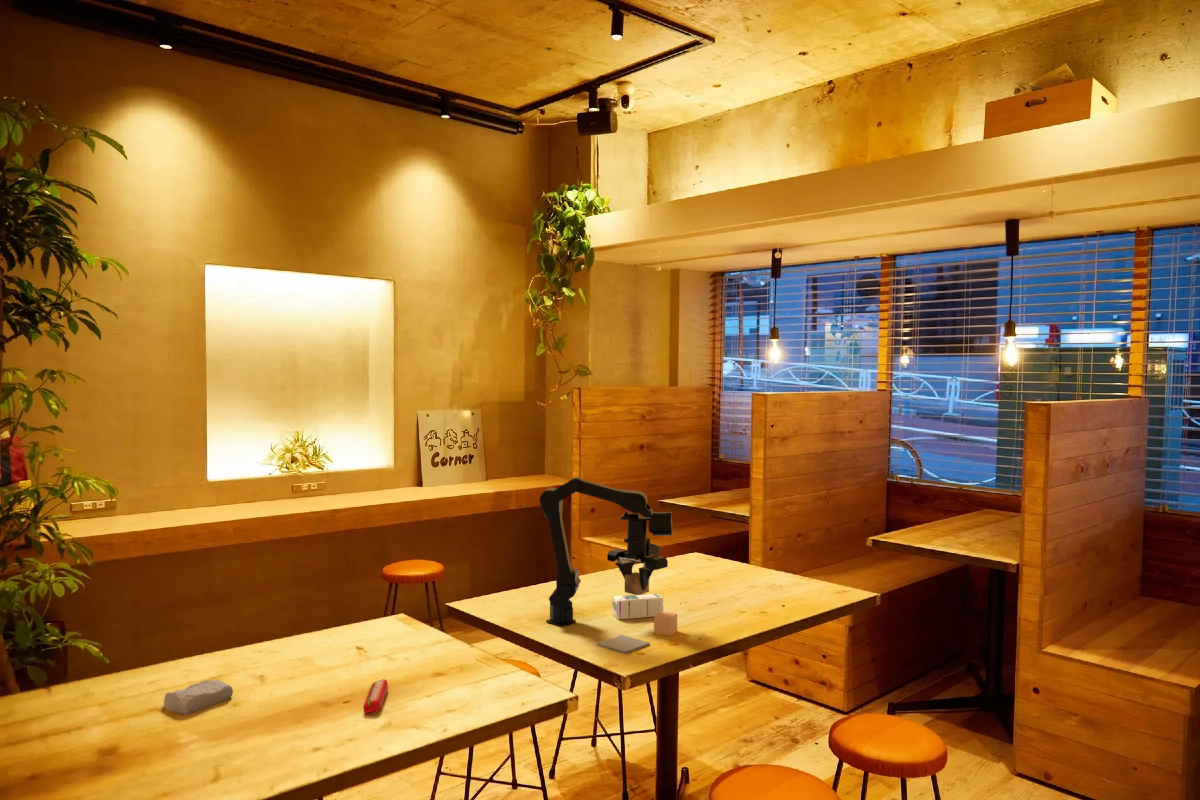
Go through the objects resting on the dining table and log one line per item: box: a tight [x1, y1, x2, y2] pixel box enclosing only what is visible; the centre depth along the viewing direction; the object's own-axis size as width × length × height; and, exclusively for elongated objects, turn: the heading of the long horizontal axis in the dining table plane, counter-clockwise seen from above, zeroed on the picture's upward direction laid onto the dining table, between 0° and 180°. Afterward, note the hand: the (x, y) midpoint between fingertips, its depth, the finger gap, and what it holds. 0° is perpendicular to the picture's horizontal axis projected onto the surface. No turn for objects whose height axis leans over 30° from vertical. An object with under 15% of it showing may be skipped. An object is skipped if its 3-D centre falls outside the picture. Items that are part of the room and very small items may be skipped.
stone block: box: [163, 679, 234, 716], centre depth 180 cm, size 12×5×10 cm
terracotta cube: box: [653, 611, 678, 636], centre depth 231 cm, size 5×5×5 cm
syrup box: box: [611, 592, 664, 620], centre depth 247 cm, size 6×6×14 cm
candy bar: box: [363, 678, 389, 716], centre depth 181 cm, size 16×4×3 cm, turn 7°
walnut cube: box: [624, 571, 650, 595], centre depth 237 cm, size 5×5×5 cm
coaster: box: [596, 634, 650, 655], centre depth 220 cm, size 10×10×1 cm
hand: (636, 588), depth 237 cm, fingers closed on walnut cube, 5 cm apart
